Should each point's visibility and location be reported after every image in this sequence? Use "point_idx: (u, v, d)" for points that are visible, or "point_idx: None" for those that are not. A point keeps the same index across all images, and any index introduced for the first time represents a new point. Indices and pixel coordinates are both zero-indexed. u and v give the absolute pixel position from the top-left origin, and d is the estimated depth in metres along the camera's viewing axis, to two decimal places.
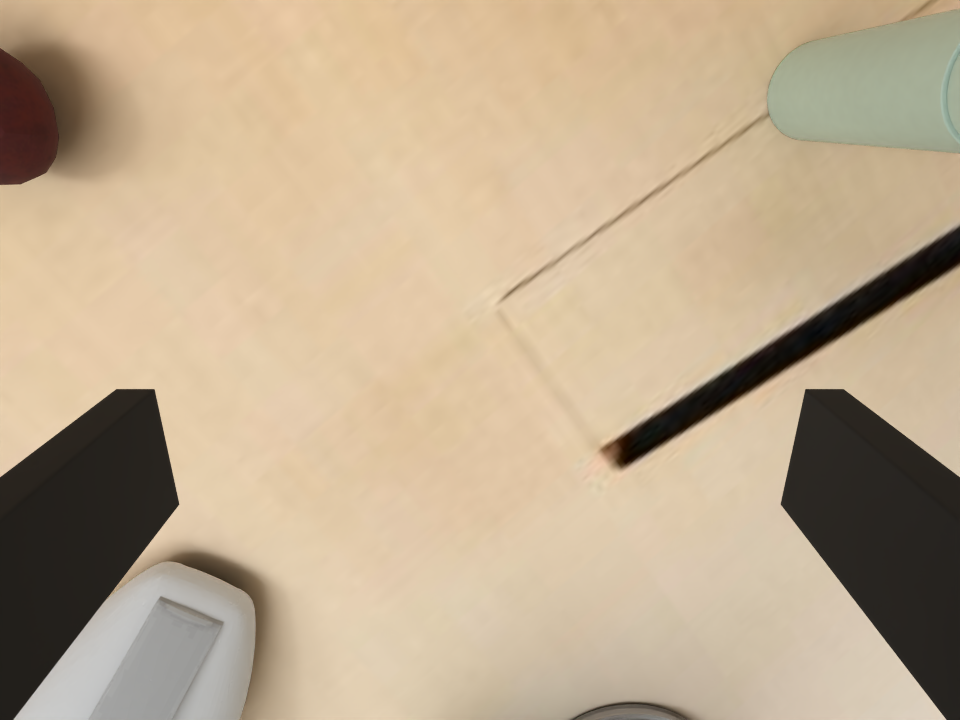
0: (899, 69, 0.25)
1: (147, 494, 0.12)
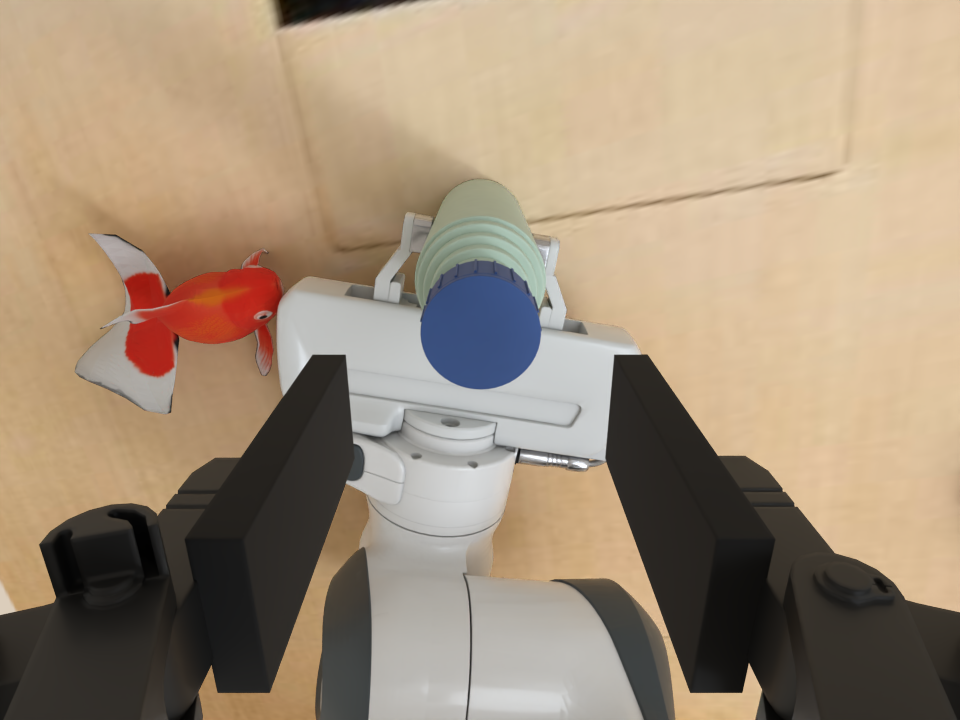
0: None
1: (343, 445, 0.14)
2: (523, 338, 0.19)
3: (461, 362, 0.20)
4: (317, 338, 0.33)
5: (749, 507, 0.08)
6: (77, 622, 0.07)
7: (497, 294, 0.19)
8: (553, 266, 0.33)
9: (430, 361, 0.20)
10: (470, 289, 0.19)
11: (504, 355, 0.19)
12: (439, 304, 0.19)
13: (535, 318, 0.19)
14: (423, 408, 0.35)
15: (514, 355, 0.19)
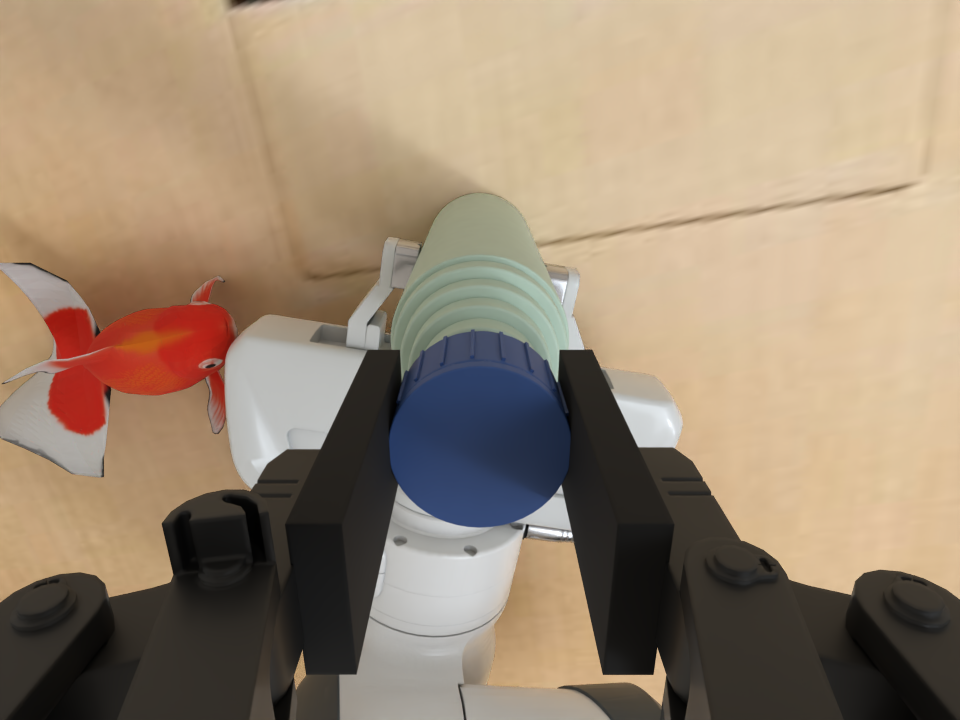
0: None
1: None
2: (545, 456, 0.13)
3: (450, 490, 0.13)
4: (276, 395, 0.26)
5: (656, 495, 0.09)
6: (192, 601, 0.07)
7: (506, 394, 0.12)
8: (571, 305, 0.26)
9: (403, 489, 0.13)
10: (464, 386, 0.12)
11: (516, 480, 0.13)
12: (416, 408, 0.12)
13: (564, 428, 0.12)
14: None
15: (531, 480, 0.13)
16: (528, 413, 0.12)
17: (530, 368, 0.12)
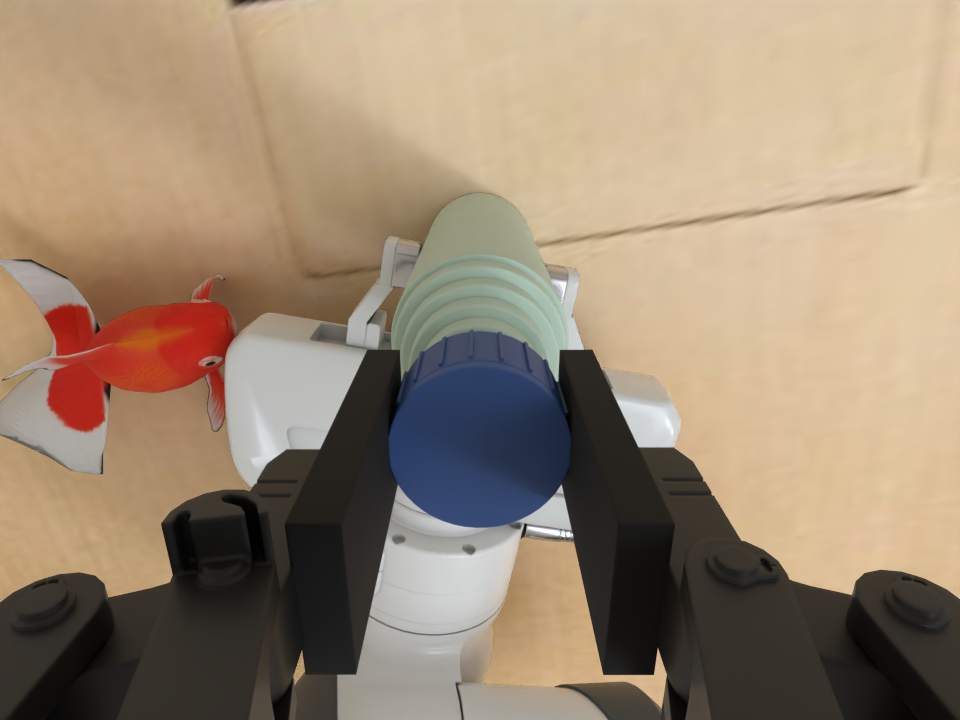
0: None
1: None
2: (479, 392, 0.12)
3: (527, 473, 0.13)
4: (276, 393, 0.26)
5: (656, 496, 0.09)
6: (191, 601, 0.07)
7: (413, 435, 0.12)
8: (571, 305, 0.26)
9: (528, 514, 0.13)
10: (411, 470, 0.13)
11: (510, 416, 0.12)
12: (438, 507, 0.13)
13: (444, 378, 0.12)
14: None
15: (509, 402, 0.12)
16: (431, 413, 0.12)
17: (396, 403, 0.13)
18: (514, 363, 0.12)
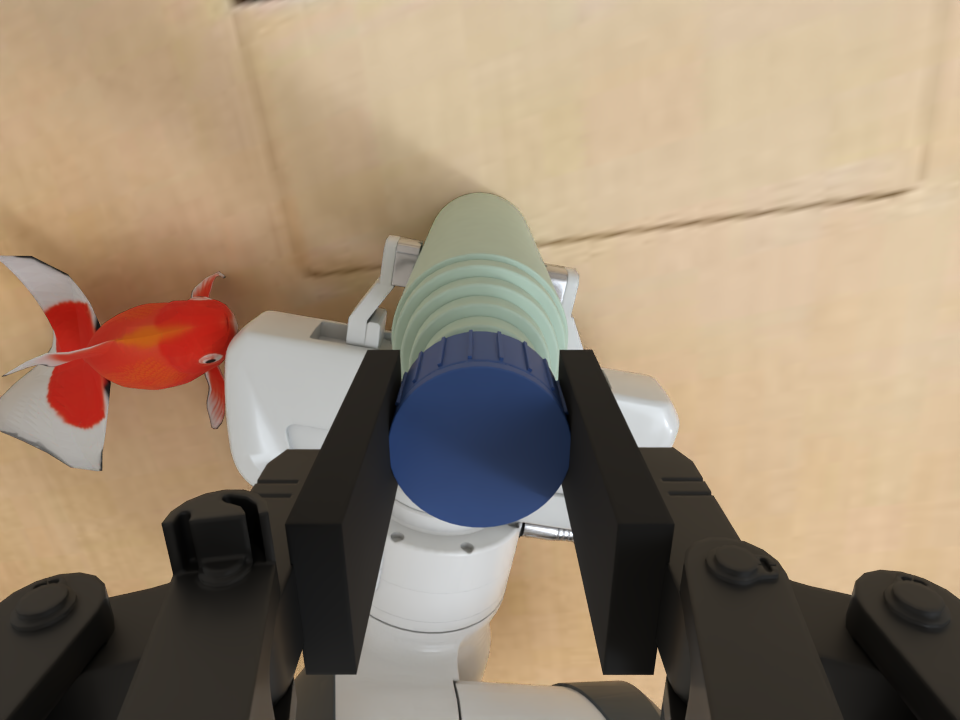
0: None
1: None
2: (414, 457, 0.13)
3: (501, 406, 0.12)
4: (276, 391, 0.27)
5: (656, 496, 0.09)
6: (192, 601, 0.07)
7: (467, 508, 0.13)
8: (570, 305, 0.26)
9: (551, 400, 0.12)
10: (506, 508, 0.13)
11: (436, 428, 0.12)
12: (548, 482, 0.13)
13: (405, 487, 0.13)
14: None
15: (421, 431, 0.12)
16: (442, 494, 0.13)
17: None
18: (394, 416, 0.13)
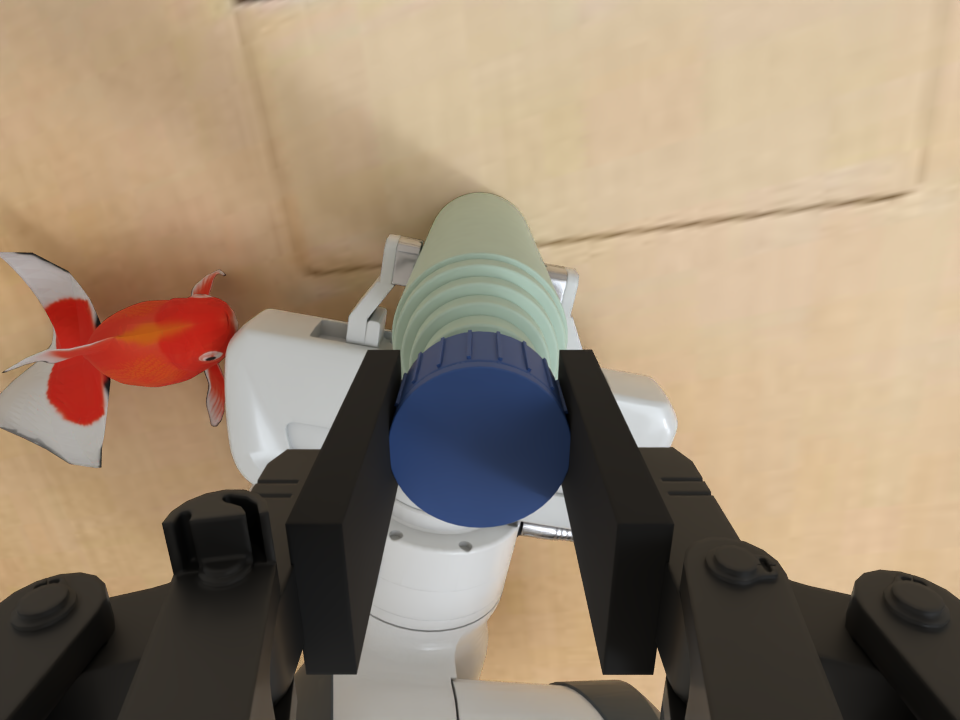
0: None
1: None
2: (491, 506, 0.13)
3: (427, 437, 0.12)
4: (276, 388, 0.27)
5: (656, 496, 0.09)
6: (193, 600, 0.07)
7: (547, 457, 0.13)
8: (570, 305, 0.26)
9: (414, 395, 0.12)
10: (545, 421, 0.12)
11: (458, 490, 0.13)
12: (510, 385, 0.12)
13: (525, 512, 0.13)
14: None
15: (462, 502, 0.13)
16: (532, 480, 0.13)
17: None
18: None
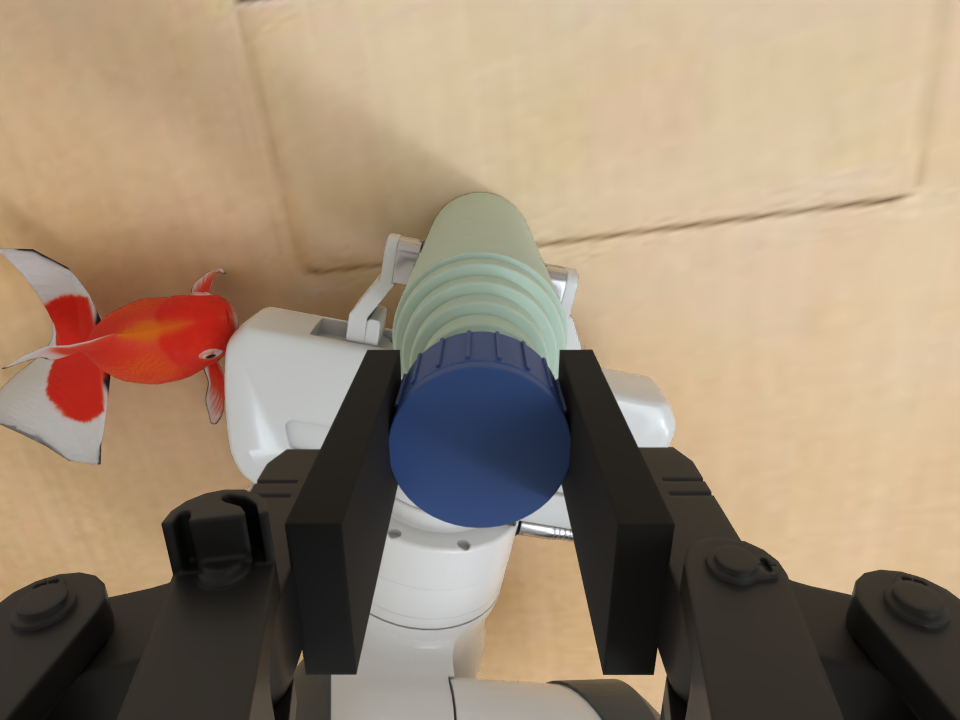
0: None
1: None
2: (543, 436, 0.12)
3: (468, 497, 0.13)
4: (275, 387, 0.27)
5: (656, 495, 0.09)
6: (192, 601, 0.07)
7: (479, 389, 0.12)
8: (570, 305, 0.26)
9: (425, 510, 0.13)
10: (438, 396, 0.12)
11: (525, 468, 0.13)
12: (403, 432, 0.12)
13: (549, 403, 0.12)
14: None
15: (540, 463, 0.13)
16: (509, 400, 0.12)
17: (497, 356, 0.12)
18: None
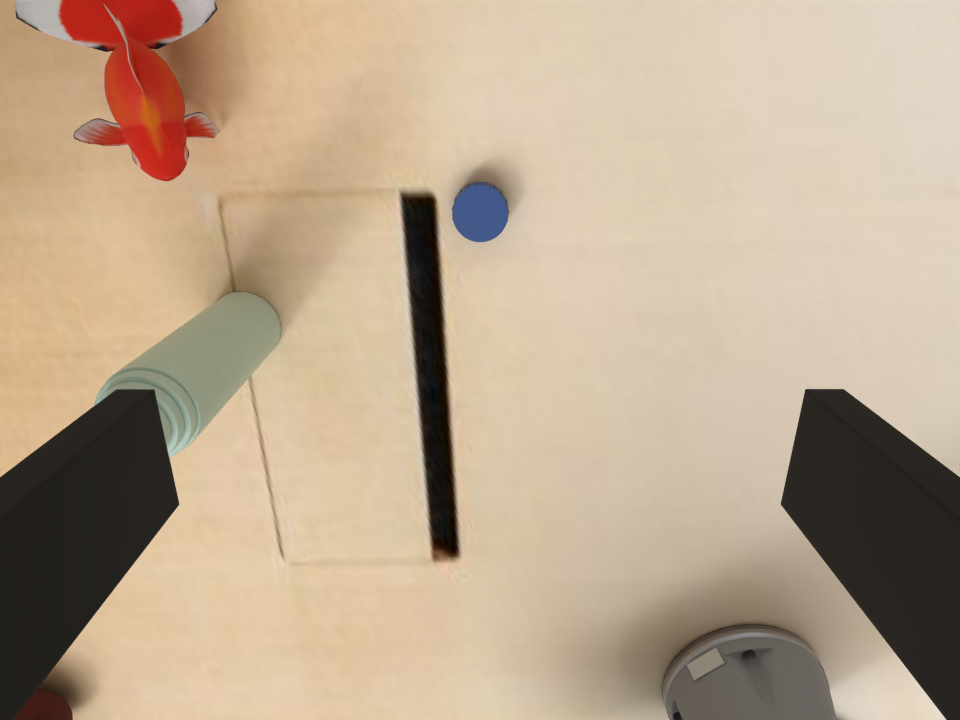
0: None
1: (147, 494, 0.12)
2: (499, 208, 0.42)
3: (476, 230, 0.42)
4: None
5: None
6: None
7: (480, 193, 0.41)
8: None
9: (463, 235, 0.42)
10: (468, 195, 0.41)
11: (494, 219, 0.42)
12: (457, 207, 0.42)
13: (500, 197, 0.41)
14: None
15: (498, 218, 0.42)
16: (488, 196, 0.41)
17: (485, 184, 0.42)
18: None
